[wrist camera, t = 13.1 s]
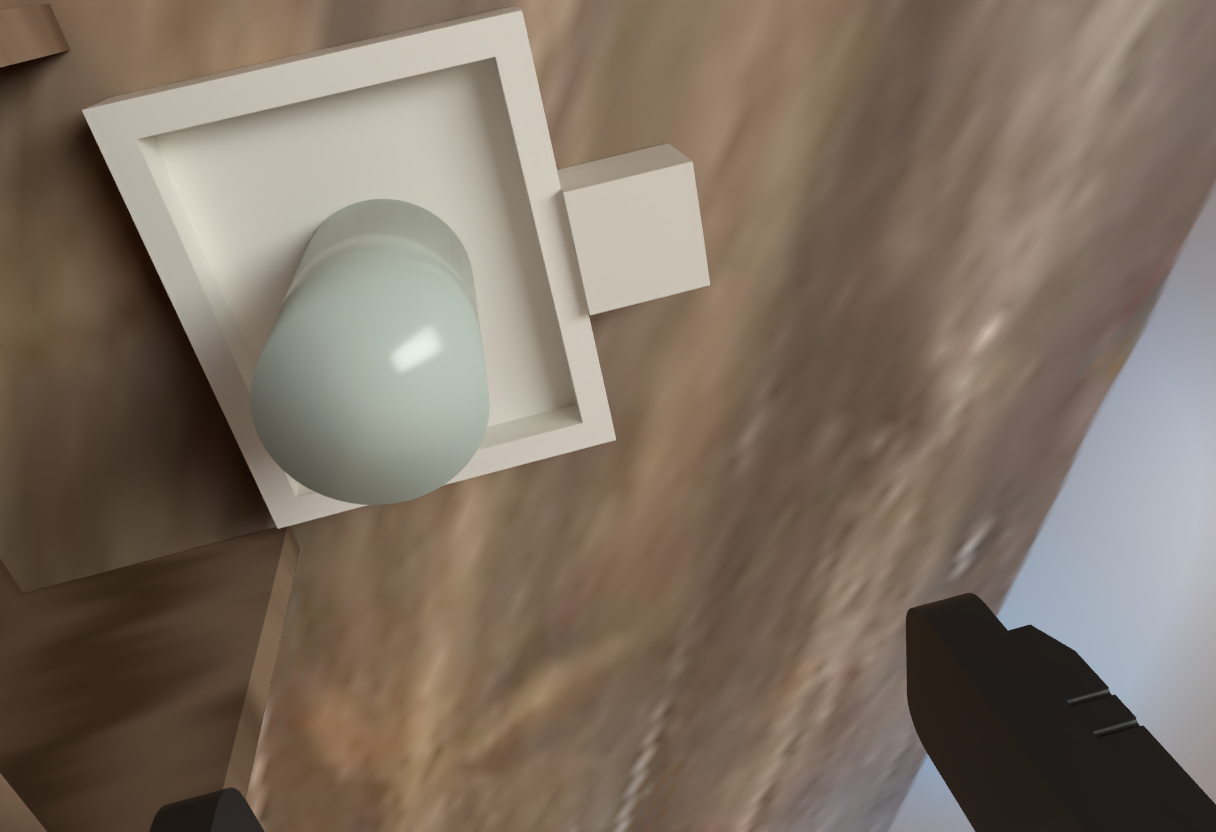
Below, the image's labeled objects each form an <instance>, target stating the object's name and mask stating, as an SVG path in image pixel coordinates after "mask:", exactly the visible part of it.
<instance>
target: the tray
mask: <svg viewBox="0 0 1216 832" xmlns="http://www.w3.org/2000/svg"><path fill="white" fill-rule="evenodd" d="M82 112H83V114H84V116H85V118H86V120H87V123H88V125H89V127H90V129H91V131H92V133H93V135H94V138H95V140H96V142H97V144H98V146H99V148H100V150H101V152H102V155H103V157H104V159H105V161H106V163H107V165H108V167H109V170H110V172H111V174H112V176H113V178H114V180H115V182H116V185H117V187H118V189H119V191H120V193H121V195H122V197H123V199H124V202H125V204H126V206H127V208H128V210H129V212H130V214H131V217H132V219H133V221H134V223H135V225H136V227H137V229H138V231H139V234H140V236H141V238H142V240H143V242H144V244H145V246H146V249H147V251H148V253H149V255H150V257H151V259H152V261H153V264H154V266H155V268H156V270H157V272H158V274H159V276H160V278H161V281H162V283H163V285H164V287H165V289H166V291H167V293H168V296H169V298H170V300H171V302H172V304H173V306H174V308H175V310H176V313H177V315H178V317H179V319H180V321H181V323H182V325H183V328H184V330H185V332H186V334H187V336H188V338H189V340H190V343H191V345H192V347H193V349H194V351H195V353H196V355H197V357H198V360H199V362H200V364H201V366H202V368H203V370H204V372H205V375H206V377H207V379H208V381H209V383H210V385H211V387H212V389H213V392H214V394H215V396H216V398H217V400H218V402H219V404H220V407H221V409H222V411H223V413H224V415H225V417H226V419H227V422H228V424H229V426H230V428H231V430H232V432H233V434H234V436H235V439H236V441H237V443H238V445H239V447H240V449H241V451H242V454H243V456H244V458H245V460H246V462H247V464H248V466H249V468H250V471H251V473H252V475H253V477H254V479H255V481H256V483H257V486H258V488H259V490H260V492H261V494H262V496H263V498H264V501H265V503H266V505H267V507H268V509H269V511H270V513H271V515H272V518H273V520H274V522H275V524H276V526H277V528H278V529H279V528H283V527H287V526H291V525H294V524H298V523H302V522H306V521H310V520H313V519H317V518H321V517H325V516H329V515H332V514H336V513H340V512H344V511H348V510H351V509H355V508H359V507H363V506H367V505H362V504H354V503H348V502H343V501H339V500H335V499H332V498H329V497H326V496H323V495H321V494H319V493H317V492H314V491H312V490H310V489H308V488H307V487H305V486H303V485H302V484H300V483H299V482H297V481H295V480H294V479H293V478H292V477H290V476H289V475H288V474H287V473H286V472H284V471H283V470H282V469H281V468H280V467H279V466H278V465H277V463H276V462H275V461H274V460H273V459H272V457H271V456H270V455H269V453H268V452H267V451H266V449H265V448H264V446H263V444H262V442H261V440H260V438H259V436H258V434H257V431H256V428H255V426H254V422H253V418H252V413H251V403H250V392H251V382H252V378H253V375H254V371H255V368H256V365H257V363H258V361H259V358H260V356H261V353H262V351H263V349H264V346H265V344H266V342H267V339H268V337H269V335H270V332H271V330H272V328H273V325H274V323H275V320H276V318H277V316H278V313H279V311H280V309H281V306H282V304H283V302H284V299H285V297H286V295H287V292H288V290H289V287H290V285H291V283H292V280H293V278H294V276H295V273H296V271H297V269H298V266H299V264H300V262H301V259H302V257H303V255H304V252H305V250H306V248H307V245H308V243H309V241H310V239H311V237H312V236H313V234H314V233H315V231H316V230H317V229H318V228H319V226H320V225H321V224H322V223H323V222H324V221H325V220H326V219H328V218H329V217H330V216H331V215H333V214H334V213H336V212H337V211H339V210H340V209H343V208H345V207H347V206H349V205H351V204H354V203H358V202H361V201H366V200H372V199H393V200H400V201H404V202H409V203H412V204H414V205H417V206H420V207H422V208H424V209H426V210H428V211H430V212H431V213H433V214H434V215H436V216H437V217H439V218H440V219H441V220H443V221H444V222H445V223H446V224H447V225H448V226H449V227H450V228H451V229H452V230H453V231H454V232H455V233H456V235H457V236H458V238H459V239H460V241H461V242H462V244H463V246H464V248H465V250H466V252H467V254H468V257H469V260H470V262H471V267H472V272H473V278H474V286H475V293H476V301H477V308H478V315H479V323H480V330H481V338H482V345H483V352H484V360H485V367H486V375H487V382H488V389H489V402H490V408H489V419H488V424H487V428H486V432H485V434H484V437H483V439H482V442H481V444H480V446H479V448H478V450H477V451H476V453H475V455H474V456H473V457H472V459H471V460H470V461H469V463H468V464H467V465H466V466H465V467H464V468H463V469H462V470H461V471H460V472H459V473H458V475H456V476H455V477H454V478H453V479H451V480H450V481H449V482H447V483H446V484H450V483H454V482H458V481H462V480H465V479H469V478H473V477H477V476H481V475H484V474H488V473H492V472H496V471H500V470H503V469H507V468H511V467H515V466H519V465H522V464H526V463H530V462H534V461H538V460H541V459H545V458H549V457H553V456H557V455H560V454H564V453H568V452H572V451H576V450H579V449H583V448H587V447H591V446H595V445H598V444H602V443H606V442H610V441H614V440H616V437H615V432H614V428H613V423H612V419H611V414H610V410H609V405H608V400H607V396H606V391H605V387H604V382H603V378H602V373H601V369H600V364H599V359H598V355H597V350H596V346H595V341H594V337H593V332H592V328H591V323H590V318H589V314H590V315H594V314H597V313H601V312H605V311H609V310H613V309H617V308H621V307H625V306H629V305H633V304H637V303H641V302H645V301H649V300H653V299H657V298H661V297H665V296H669V295H673V294H677V293H681V292H685V291H689V290H693V289H696V288H700V287H704V286H708V285H710V280H709V273H708V266H707V259H706V252H705V245H704V238H703V231H702V224H701V217H700V210H699V203H698V196H697V189H696V182H695V175H694V168H693V161H691V160H690V159H689V158H687V157H686V156H685V155H683V154H682V153H681V152H679V151H678V150H677V149H675V148H674V147H673V146H672V145H670V144H669V143H667V144H663V145H659V146H655V147H651V148H647V149H642V150H638V151H634V152H630V153H626V154H622V155H617V156H613V157H609V158H605V159H601V160H597V161H592V162H588V163H584V164H580V165H576V166H572V167H567V168H563V169H559V170H557V168H556V163H555V159H554V154H553V150H552V145H551V140H550V136H549V131H548V127H547V122H546V118H545V113H544V109H543V104H542V99H541V95H540V90H539V86H538V81H537V77H536V72H535V68H534V63H533V58H532V54H531V49H530V45H529V40H528V36H527V31H526V26H525V22H524V17H523V13H522V10H521V9H519V8H517V7H515V6H512V7H508V8H503V9H499V10H494V11H490V12H486V13H481V14H477V15H472V16H468V17H463V18H459V19H455V20H450V21H446V22H441V23H437V24H432V25H428V26H424V27H419V28H415V29H410V30H406V31H402V32H397V33H393V34H388V35H384V36H379V37H375V38H371V39H366V40H362V41H357V42H353V43H349V44H344V45H340V46H335V47H331V48H326V49H322V50H318V51H313V52H309V53H304V54H300V55H295V56H291V57H287V58H282V59H278V60H273V61H269V62H265V63H260V64H256V65H251V66H247V67H242V68H238V69H234V70H229V71H225V72H220V73H216V74H212V75H207V76H203V77H198V78H194V79H189V80H185V81H181V82H176V83H172V84H167V85H163V86H158V87H154V88H150V89H145V90H141V91H136V92H132V93H128V94H123V95H119V96H114V97H111V98H108V99H106V100H104V101H101V102H99V103H97V104H94V105H92V106H90V107H87V108H85V109H83V110H82ZM588 312H589V314H588ZM446 484H444V485H446Z"/></svg>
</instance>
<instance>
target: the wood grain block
mask: <svg viewBox="0 0 1216 832" xmlns="http://www.w3.org/2000/svg"><path fill="white" fill-rule="evenodd" d="M68 50H70V48H69V46H68V44H67V42H66V40H65V38H64V35H63V33H62V31H61V29H60V27H59V24H58V22H57V20H56V18H55V16H54V14H53V11H52V9H51V7H50V5H49V4H44V5H35V6H26V7H18V8H9V9H0V67H4V66H8V65H12V64H16V63H20V62H24V61H28V60H32V59H36V58H40V57H44V56H48V55H52V54H56V53H60V52H64V51H68ZM299 550H300V549H299V547H298V544H297V542H296V540H295V538H294V536H293V534H292V531H291V529H290V527H289V526H287V527H283V528H279V529H278V528H277V527H276V528H272V529H268V530H264V531H261V532H257V533H253V534H249V535H245V536H242V537H238V538H234V539H230V540H226V541H223V542H219V543H215V544H211V545H207V546H204V547H200V548H196V549H192V550H188V551H185V552H181V553H177V554H173V555H169V556H166V557H162V558H158V559H154V560H150V561H146V562H143V563H139V564H135V565H131V566H127V567H124V568H120V569H116V570H112V571H108V572H105V573H101V574H97V575H93V576H89V577H86V578H82V579H78V580H74V581H70V582H67V583H63V584H59V585H55V586H51V587H48V588H44V589H40V590H36V591H32V592H29V593H25V594H23V592H22V591H21V589H20V588H19V586H18V585H17V583H16V582H15V580H14V579H13V577H12V576H11V574H10V573H9V571H8V570H7V569H6V567H5V566H4V564H3V563H2V561H1V560H0V832H149V831H150V828H151V825H152V822H153V819H154V817H155V815H156V814H157V812H158V811H159V809H160V808H161V807H163V806H164V805H167V804H170V803H174V802H178V801H181V800H185V799H189V798H193V797H196V796H200V795H204V794H208V793H211V792H215V791H219V790H223V789H226V788H230V787H232V788H236V789H237V790H239V791H240V792H241V794H242V795H243V796H244V798H245V799H246V794H247V790H248V785H249V781H250V776H251V771H252V767H253V762H254V758H255V753H256V748H257V744H258V739H259V735H260V730H261V725H262V721H263V716H264V712H265V707H266V702H267V698H268V693H269V688H270V684H271V679H272V675H273V670H274V665H275V661H276V656H277V652H278V647H279V642H280V638H281V633H282V629H283V624H284V619H285V615H286V610H287V606H288V601H289V596H290V592H291V587H292V582H293V578H294V573H295V569H296V564H297V559H298V555H299Z"/></svg>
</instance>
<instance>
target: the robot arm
mask: <svg viewBox="0 0 1216 832" xmlns="http://www.w3.org/2000/svg"><path fill="white" fill-rule="evenodd" d="M906 656H907V699H908V706H909V710H910V714H911V717H912V721H913V724H914V726H915V729H916V732H917V734H918V736H919V738H920V741H921V743H922V745H923V746H924V748H925V750H926V752H927V753H928V755H929V757H930V758H931V760H932V761H933V763H934V765H935V766H936V768H937V770H938V771H939V773H940V775H941V776H942V778H943V779H944V781H945V783H946V784H947V786H948V788H949V789H950V791H951V793H952V794H953V796H954V797H955V799H956V801H957V802H958V804H959V805H960V807H961V809H962V810H963V812H964V814H965V815H966V817H967V819H968V820H969V822H970V823H971V825H972V827H973V828H974V830H975V832H1216V804H1215V803H1214V802H1213V801H1212V800H1211V799H1210V798H1209V797H1208V796H1207V795H1206V794H1205V792H1204V791H1203V790H1202V789H1201V788H1200V787H1199V786H1198V785H1197V784H1196V783H1195V781H1194V780H1193V779H1192V778H1191V777H1190V776H1189V775H1188V774H1187V773H1186V772H1185V771H1184V770H1183V768H1182V767H1180V765H1179V764H1178V763H1177V762H1176V761H1175V760H1174V759H1173V757H1172V756H1171V755H1170V754H1169V753H1168V752H1167V751H1166V750H1165V749H1164V748H1163V746H1162V745H1161V744H1160V743H1159V742H1158V741H1157V740H1156V739H1155V738H1154V737H1153V736H1152V734H1151V733H1150V732H1149V731H1148V730H1147V729H1146V728H1145V727H1144V726H1139V724H1138V723H1137V721H1136V717H1135V716H1134V715H1133V714H1132V713H1131V711H1130V710H1129V709H1128V708H1127V707H1126V706H1125V705H1124V704H1123V703H1122V702H1121V700H1120V699H1118V697H1117V696H1116V695H1111V694H1110V692H1109V689H1108V686H1107V685H1106V684H1105V683H1104V682H1103V681H1102V680H1101V679H1100V678H1099V676H1098V675H1097V674H1096V673H1095V672H1094V671H1093V670H1092V669H1091V668H1090V667H1089V665H1088V664H1087V663H1086V662H1085V661H1084V660H1083V659H1082V658H1081V657H1080V656H1079V655H1078V653H1077V652H1076V651H1074V650H1072V649H1071V648H1069V647H1067V646H1066V645H1064V644H1062V643H1061V642H1059V641H1057V640H1056V639H1054V638H1052V637H1050V636H1049V635H1047V634H1045V633H1044V632H1042V631H1040V630H1038V629H1037V628H1035V627H1033V626H1032V625H1027V626H1023V627H1020V628H1016V629H1012V630H1009V631H1008V630H1007V629H1006V628H1005V627H1004V626H1003V624H1002V623H1001V622H1000V621H999V620H998V618H997V617H996V616H995V615H994V614H993V613H992V611H991V610H990V609H989V608H988V607H987V605H986V604H985V603H984V602H983V601H982V600H981V599H980V598H979V597H978V596H976V595H974V594H972V593H966V594H962V595H959V596H955V597H951V598H947V599H944V600H940V601H936V602H932V603H929V604H925V605H921V606H917V607H914V608H910V609H909V610H908V612H907V616H906ZM149 832H264V830H263V828H262V827H261V825H260V823H259V822H258V820H257V818H256V817H255V815H254V813H253V811H252V810H251V808H250V806H249V805H248V803H247V801H246V800H245V798H244V796H243V795H242V794H241V792H240V791H239V790H237V789H236V788H232V787H230V788H226V789H223V790H219V791H215V792H211V793H208V794H204V795H200V796H196V797H193V798H189V799H185V800H181V801H178V802H174V803H170V804H167V805H164V806H163V807H161V808H160V809H159V811H158V812H157V814H156V815H155V817H154V819H153V822H152V825H151V828H150V831H149Z"/></svg>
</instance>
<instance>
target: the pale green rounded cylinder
mask: <svg viewBox="0 0 1216 832" xmlns="http://www.w3.org/2000/svg"><path fill="white" fill-rule="evenodd" d="M250 403H251V413H252V418H253V422H254V426H255V428H256V431H257V434H258V436H259V438H260V440H261V442H262V444H263V446H264V448H265V449H266V451H267V452H268V453H269V455H270V456H271V457H272V459H273V460H274V461H275V462H276V463H277V465H278V466H279V467H280V468H281V469H282V470H283V471H284V472H286V473H287V474H288V475H289V476H290V477H292V478H293V479H294V480H295V481H297V482H299V483H300V484H302V485H303V486H305V487H307V488H308V489H310V490H312V491H314V492H317V493H319V494H321V495H323V496H326V497H329V498H332V499H335V500H339V501H343V502H348V503H354V504H362V505H384V504H394V503H399V502H404V501H409V500H412V499H415V498H418V497H421V496H423V495H426V494H428V493H430V492H432V491H434V490H436V489H438V488H439V487H441V486H443V485H444V484H446V483H447V482H449V481H450V480H451V479H453V478H454V477H455V476H456V475H458V473H459V472H460V471H461V470H462V469H463V468H464V467H465V466H466V465H467V464H468V463H469V461H470V460H471V459H472V457H473V456H474V455H475V453H476V451H477V450H478V448H479V446H480V444H481V442H482V439H483V437H484V434H485V432H486V428H487V424H488V419H489V408H490V402H489V389H488V382H487V375H486V367H485V360H484V352H483V345H482V338H481V330H480V323H479V315H478V308H477V301H476V293H475V286H474V278H473V272H472V267H471V262H470V260H469V257H468V254H467V252H466V250H465V248H464V246H463V244H462V242H461V241H460V239H459V238H458V236H457V235H456V233H455V232H454V231H453V230H452V229H451V228H450V227H449V226H448V225H447V224H446V223H445V222H444V221H443V220H441V219H440V218H439V217H437V216H436V215H434V214H433V213H431V212H430V211H428V210H426V209H424V208H422V207H420V206H417V205H414V204H412V203H409V202H404V201H400V200H393V199H372V200H366V201H361V202H358V203H354V204H351V205H349V206H347V207H345V208H343V209H340V210H339V211H337V212H336V213H334V214H333V215H331V216H330V217H329V218H328V219H326V220H325V221H324V222H323V223H322V224H321V225H320V226H319V228H318V229H317V230H316V231H315V233H314V234H313V236H312V237H311V239H310V241H309V243H308V245H307V248H306V250H305V252H304V255H303V257H302V259H301V262H300V264H299V266H298V269H297V271H296V273H295V276H294V278H293V280H292V283H291V285H290V287H289V290H288V292H287V295H286V297H285V299H284V302H283V304H282V306H281V309H280V311H279V313H278V316H277V318H276V320H275V323H274V325H273V328H272V330H271V332H270V335H269V337H268V339H267V342H266V344H265V346H264V349H263V351H262V353H261V356H260V358H259V361H258V363H257V365H256V368H255V371H254V375H253V378H252V382H251V392H250Z"/></svg>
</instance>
